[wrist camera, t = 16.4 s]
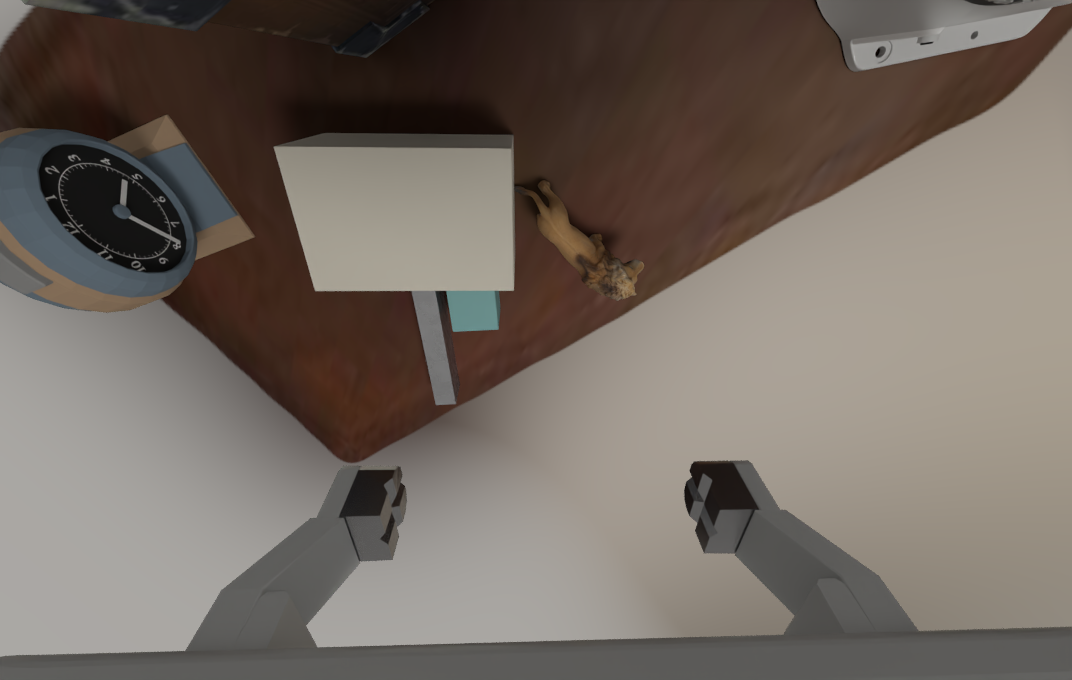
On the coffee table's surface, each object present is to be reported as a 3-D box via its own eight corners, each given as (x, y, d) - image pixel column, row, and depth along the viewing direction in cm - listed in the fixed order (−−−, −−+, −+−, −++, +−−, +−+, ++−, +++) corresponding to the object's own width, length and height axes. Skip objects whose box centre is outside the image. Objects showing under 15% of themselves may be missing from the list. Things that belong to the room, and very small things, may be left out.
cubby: (513, 134, 41) (511, 148, 33) (515, 253, 47) (513, 290, 39) (324, 132, 40) (273, 146, 32) (351, 253, 46) (315, 290, 38)
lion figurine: (636, 246, 47) (658, 278, 39) (605, 282, 49) (620, 319, 42) (528, 165, 42) (530, 183, 35) (499, 209, 44) (495, 235, 37)
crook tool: (482, 253, 47) (479, 267, 44) (497, 382, 56) (495, 401, 53) (415, 256, 47) (407, 270, 44) (441, 385, 56) (435, 404, 53)
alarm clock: (261, 245, 46) (134, 325, 31) (187, 273, 47) (31, 363, 32) (159, 102, 39) (-73, 116, 24) (76, 141, 40) (-193, 177, 25)
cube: (496, 269, 48) (494, 287, 44) (500, 308, 51) (498, 329, 46) (452, 271, 48) (446, 290, 44) (458, 310, 51) (453, 331, 46)
